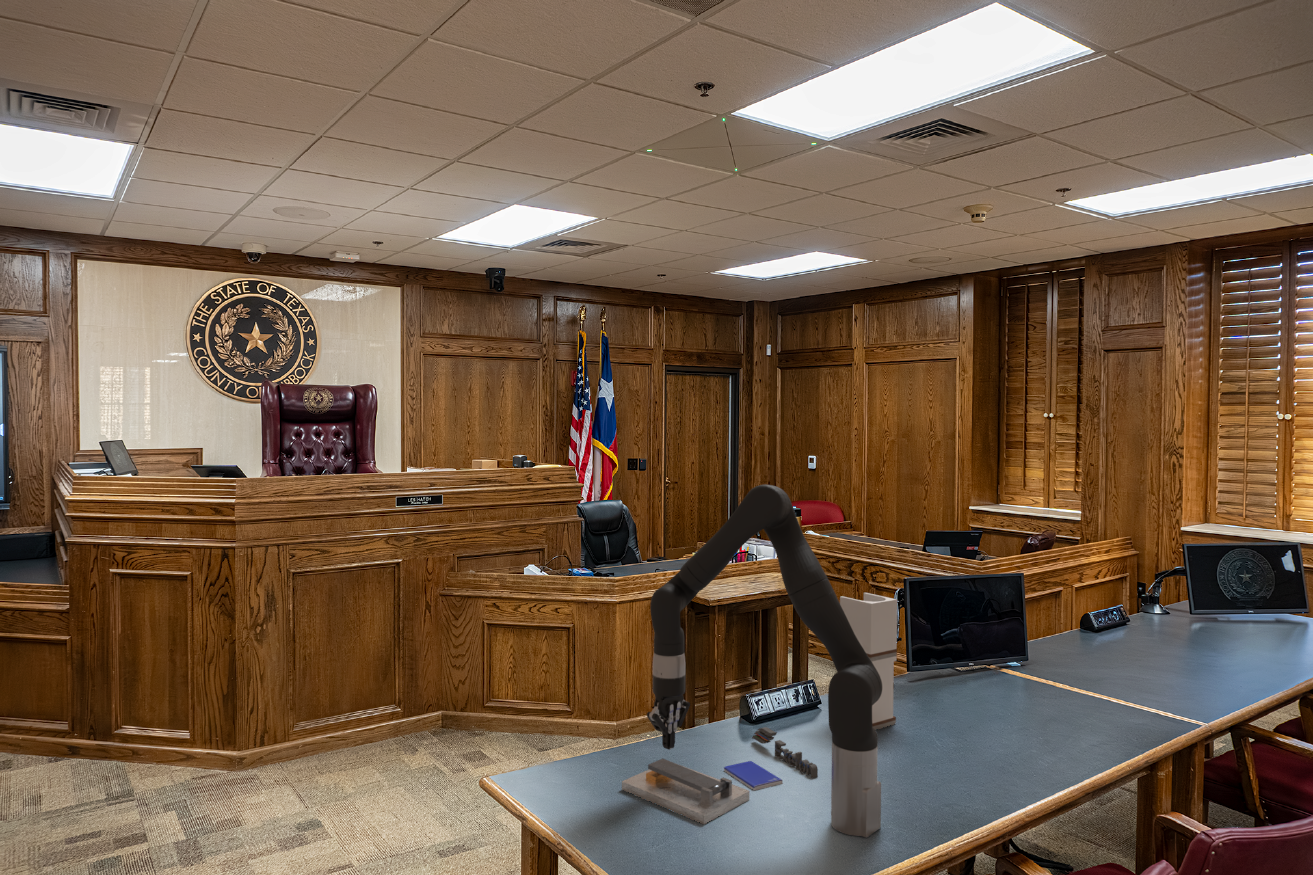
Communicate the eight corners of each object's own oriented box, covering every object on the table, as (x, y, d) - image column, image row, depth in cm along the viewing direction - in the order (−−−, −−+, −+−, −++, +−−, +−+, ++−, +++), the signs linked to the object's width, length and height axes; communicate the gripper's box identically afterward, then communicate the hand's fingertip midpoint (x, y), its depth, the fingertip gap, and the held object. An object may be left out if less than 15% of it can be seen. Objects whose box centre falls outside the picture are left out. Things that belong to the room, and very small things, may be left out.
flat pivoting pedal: (726, 790, 182) (727, 782, 182) (712, 798, 178) (712, 789, 178) (662, 764, 194) (662, 756, 194) (648, 770, 191) (648, 762, 191)
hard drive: (782, 778, 193) (751, 760, 204) (753, 785, 189) (723, 766, 200) (782, 785, 193) (751, 766, 204) (753, 792, 189) (723, 772, 200)
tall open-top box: (895, 724, 232) (897, 599, 232) (869, 731, 226) (871, 603, 226) (864, 712, 242) (865, 592, 242) (838, 719, 236) (840, 596, 236)
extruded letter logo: (751, 743, 218) (751, 721, 218) (756, 742, 219) (756, 720, 219) (812, 778, 196) (812, 755, 196) (817, 777, 197) (817, 753, 197)
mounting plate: (749, 799, 184) (749, 777, 184) (703, 824, 172) (704, 800, 172) (668, 768, 200) (668, 748, 200) (621, 789, 189) (621, 768, 189)
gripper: (661, 681, 182) (661, 760, 182) (700, 669, 192) (699, 744, 192) (637, 675, 187) (636, 751, 187) (675, 663, 197) (675, 735, 197)
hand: (668, 747), depth 190 cm, fingers closed
